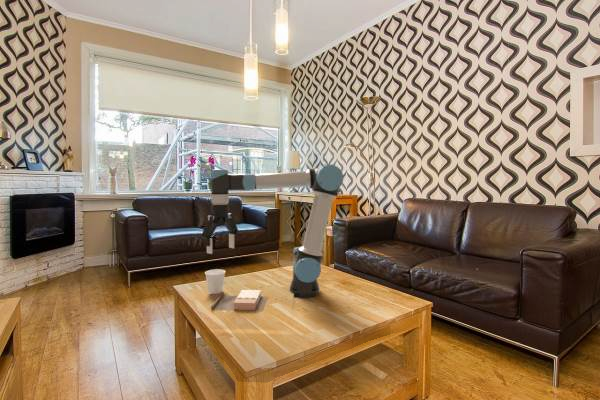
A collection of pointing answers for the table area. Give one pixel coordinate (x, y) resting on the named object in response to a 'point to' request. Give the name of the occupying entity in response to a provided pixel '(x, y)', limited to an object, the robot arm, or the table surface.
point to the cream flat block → (250, 294)
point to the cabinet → (245, 304)
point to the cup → (215, 280)
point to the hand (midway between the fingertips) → (221, 250)
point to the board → (228, 303)
